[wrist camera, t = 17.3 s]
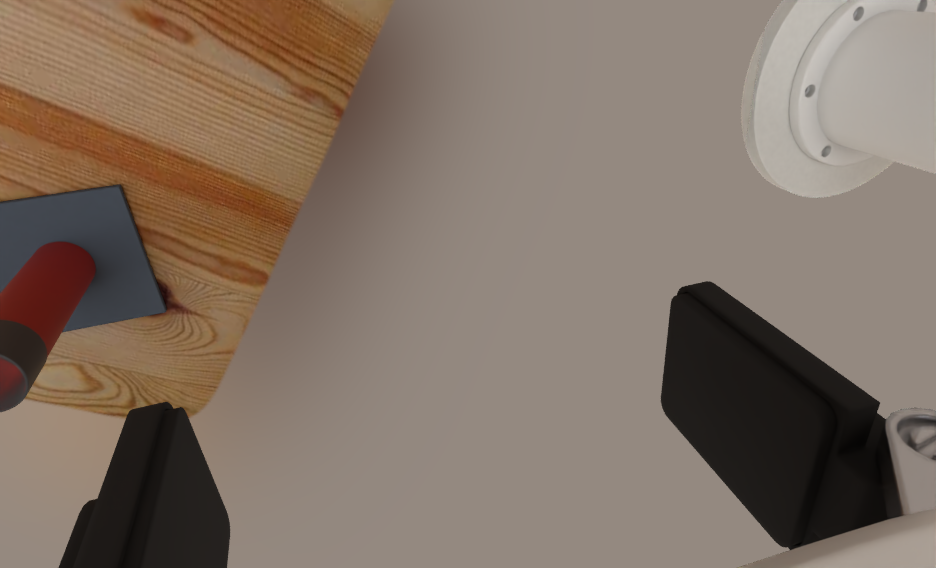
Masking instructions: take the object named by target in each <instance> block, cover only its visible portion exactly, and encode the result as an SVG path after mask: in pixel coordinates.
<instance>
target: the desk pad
mask: <svg viewBox="0 0 936 568" xmlns="http://www.w3.org/2000/svg"><path fill="white" fill-rule="evenodd" d="M51 242H68V243H72V244H75V245H77V246H79V247H81V248H83V249H84V250H85V251H87V252H88V253H89V254H90V256H91V257H92V259H93V261H94V263H95V267H96V272H95V276H94V278H93V280H92V281H91V283H90V285H89V287H88V288H87V290H86V292H85V293H84V295H83V297H82V298H81V300H80V302H79V304H78V305H77V307H76V309H75V310H74V312H73V314H72V316H71V317H70V319H69V321H68V322H67V324H66V326H65V327H64V329H63V331H62V332H66V331H71V330H76V329H81V328H87V327H92V326H97V325H102V324H107V323H112V322H118V321H123V320H128V319H133V318H138V317H143V316H149V315H154V314H159V313H164V312H166V310H167V308H166V305H165V303H164V300H163V297H162V295H161V292H160V289H159V287H158V284H157V281H156V279H155V276H154V273H153V271H152V268H151V265H150V263H149V260H148V257H147V255H146V252H145V249H144V247H143V244H142V241H141V239H140V236H139V233H138V230H137V228H136V225H135V222H134V220H133V217H132V214H131V212H130V209H129V206H128V204H127V201H126V198H125V196H124V193H123V190H122V188H121V185H113V186H106V187H99V188H92V189H85V190H78V191H72V192H65V193H58V194H51V195H44V196H37V197H30V198H24V199H17V200H10V201H3V202H0V293H1V292H2V291H3V289H4V288H5V287H6V286H7V285H8V284H9V282H10V281H11V280H12V279H13V278H14V277H15V275H16V274H17V273H18V272H19V271H20V269H21V268H22V267H23V266H24V265H25V264H26V262H27V261H28V260H29V259H30V258H31V257H32V255H33V254H34V253H35V252H36V251H37V250H38V249H39V248H40V247H41V246H43V245H45V244H48V243H51Z"/></svg>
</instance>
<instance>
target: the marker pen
mask: <svg viewBox="0 0 936 568" xmlns="http://www.w3.org/2000/svg"><path fill="white" fill-rule="evenodd" d="M95 272H96V267H95V263H94V261H93V259H92V257H91V256H90V254H89V253H88V252H87V251H85V250H84V249H83V248H81V247H79V246H77V245H75V244H72V243H68V242H51V243H48V244H45V245H43V246H41V247H40V248H39V249H38V250H37V251H36V252H35V253H34V254H33V255H32V257H31V258H30V259H29V260H28V261H27V262H26V264H25V265H24V266H23V267H22V268H21V269H20V271H19V272H18V273H17V274H16V275H15V277H14V278H13V279H12V280H11V281H10V282H9V284H8V285H7V286H6V287H5V288H4V289H3V291H2V292H1V293H0V412H3V411H6V410H9V409H11V408H13V407H15V406H17V405H18V404H19V403H20V402H21V401H23V399H24V398H25V397H26V395H27V393H28V392H29V390H30V388H31V387H32V385H33V383H34V381H35V380H36V378H37V376H38V375H39V373H40V371H41V369H42V368H43V366H44V364H45V362H46V359H47V357H48V355H49V353H50V351H51V350H52V348H53V346H54V345H55V343H56V341H57V339H58V338H59V336H60V334H61V333H62V331H63V329H64V327H65V326H66V324H67V322H68V321H69V319H70V317H71V316H72V314H73V312H74V310H75V309H76V307H77V305H78V304H79V302H80V300H81V298H82V297H83V295H84V293H85V292H86V290H87V288H88V287H89V285H90V283H91V281H92V280H93V278H94V276H95Z"/></svg>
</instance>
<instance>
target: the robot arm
mask: <svg viewBox="0 0 936 568" xmlns="http://www.w3.org/2000/svg"><path fill="white" fill-rule="evenodd" d="M789 116H790V126H791V129H792V133H793V136H794V139H795V141H796V142H797V144H798V146H799V147H800V149H801V150H802V151H803V152H804V153H805V154H806V155H808V156H809V157H811V158H813V159H815V160H817V161H819V162H822V163H826V164H829V165H833V166H846V165H852V164H856V163H859V162H862V161H864V160H867V159H869V158H871V157H872V156H878V157H881V158H884V159H888V160H891V161H894V162H898V163H901V164H905V165H908V166H911V167H915V168H918V169H921V170H925V171H928V172H931V173H935V174H936V4H935V3H934V1H933V0H848V1H847V2H846V3H845V4H843V5H842V6H841V7H840V8H839V9H837V10H836V11H835V12H834V13H833V14H832V15H831V16H830V17H829V18H828V20H827V21H826V22H825V23H824V24H823V25H822V26H821V28H820V29H819V30H818V32H817V33H816V35H815V36H814V38H813V39H812V40H811V42H810V44H809V45H808V47H807V49H806V51H805V53H804V55H803V57H802V59H801V61H800V64H799V66H798V69H797V72H796V74H795V77H794V81H793V85H792V90H791V94H790V105H789ZM661 403H662V408H663V410H664V412H665V414H666V416H667V417H668V418H669V419H670V420H671V422H672V423H673V424H674V425H675V426H676V427H677V428H678V430H679V431H680V432H681V433H682V434H683V436H684V437H685V438H686V439H687V440H688V441H689V443H690V444H691V445H692V446H693V447H694V448H695V449H696V451H697V452H698V453H699V454H700V455H701V456H702V458H703V459H704V460H705V461H706V462H707V463H708V464H709V466H710V467H711V468H712V469H713V470H714V471H715V472H716V474H717V475H718V476H719V477H720V478H721V479H722V481H723V482H724V483H725V484H726V485H727V486H728V488H729V489H730V490H731V491H732V492H733V493H734V494H735V495H736V497H737V498H738V499H739V500H740V501H741V502H742V504H743V505H744V506H745V507H746V508H747V509H748V511H749V512H750V513H751V514H752V515H753V516H754V517H755V519H756V520H757V521H758V522H759V523H760V524H761V526H762V527H763V528H764V529H765V530H766V531H767V532H768V534H769V535H770V536H771V537H772V538H773V539H774V541H776V543H778V544H779V545H780V546H782V547H788V548H789V549H790V550H789V551H786V552H783V553H780V554H777V555H775V556H772V557H768V558H765V559H763V560H760V561H756V562H753V563H750V564H748V565H744V566H741V567H738V568H936V411H935V410H931V409H921V408H908V409H900V410H898V411H895V412H893V413H891V414H890V416H889V417H888V418H887V419H884V418H883V417H882V416H880V415H879V414H878V413H877V410H878V408H879V404H880V402H879V401H877V400H876V399H874V398H873V397H872V396H870V395H869V394H867V393H866V392H865V391H863V390H862V389H860V388H859V387H858V386H856V385H855V384H854V383H852V382H851V381H849V380H848V379H847V378H845V377H844V376H842V375H841V374H839V373H838V372H837V371H835V370H834V369H833V368H831V367H830V366H828V365H827V364H826V363H824V362H823V361H821V360H820V359H819V358H817V357H816V356H814V355H813V354H812V353H810V352H809V351H807V350H806V349H805V348H803V347H802V346H801V345H799V344H798V343H796V342H795V341H794V340H792V339H791V338H789V337H788V336H787V335H785V334H784V333H782V332H781V331H780V330H778V329H777V328H775V327H774V326H773V325H771V324H770V323H768V322H767V321H766V320H764V319H763V318H762V317H760V316H759V315H757V314H756V313H755V312H753V311H752V310H750V309H749V308H748V307H746V306H745V305H743V304H742V303H740V302H739V301H738V300H736V299H735V298H733V297H732V296H731V295H729V294H728V293H727V292H725V291H724V290H722V289H721V288H720V287H718V286H717V285H716V284H714V283H712V282H702V283H698V284H693V285H688V286H685V287H682V288H680V289H679V291H678V293H677V296H674V297H673V299H672V301H671V309H670V317H669V327H668V337H667V346H666V355H665V365H664V374H663V383H662V393H661ZM229 539H230V523H229V518H228V514H227V511H226V509H225V506H224V504H223V502H222V499H221V497H220V494H219V492H218V489H217V487H216V484H215V482H214V479H213V477H212V475H211V472H210V470H209V467H208V465H207V462H206V460H205V457H204V455H203V453H202V450H201V448H200V445H199V443H198V440H197V438H196V436H195V433H194V431H193V428H192V426H191V423H190V421H189V418H188V416H187V414H186V412H185V410H184V409H183V408H182V407H180V408H175V409H173V407H172V405H171V404H170V403H168V402H163V403H159V404H154V405H150V406H145V407H141V408H136V409H132V410H131V411H129V413H128V415H127V418H126V420H125V423H124V426H123V429H122V432H121V434H120V437H119V440H118V443H117V446H116V448H115V451H114V454H113V457H112V460H111V462H110V465H109V468H108V471H107V474H106V476H105V479H104V482H103V485H102V488H101V491H100V493H99V496H98V499H95V500H91V501H89V502H87V503H86V504H85V505H84V506H83V508H82V510H81V511H80V513H79V516H78V519H77V521H76V524H75V526H74V529H73V531H72V534H71V537H70V540H69V542H68V544H67V547H66V550H65V553H64V555H63V558H62V560H61V563H60V565H59V568H227V560H228V550H229Z"/></svg>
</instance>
